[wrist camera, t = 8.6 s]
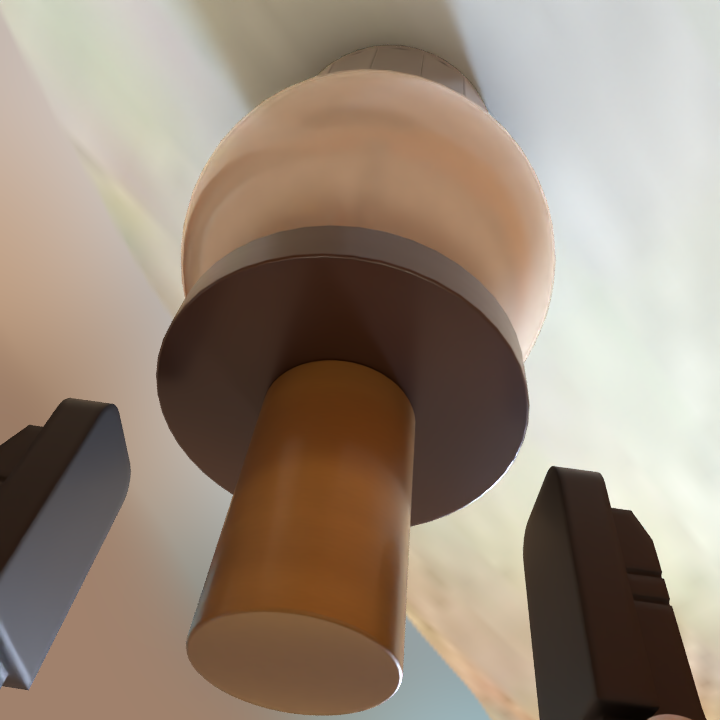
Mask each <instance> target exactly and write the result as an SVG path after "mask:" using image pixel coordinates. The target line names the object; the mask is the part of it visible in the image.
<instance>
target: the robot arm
mask: <svg viewBox="0 0 720 720" xmlns="http://www.w3.org/2000/svg"><path fill="white" fill-rule="evenodd" d="M130 472H131V469H130V461H129V457H128V452H127V448H126V443H125V438H124V433H123V429H122V424H121V419H120V415H119V411H118V408H117V407H116V406H115V405H114V404H109V403H102V402H95V401H88V400H80V399H72V398H68V399H65V400H63V401H62V402H61V403H60V404H59V406H58V407H57V408H56V410H55V411H54V412H53V414H52V415H51V417H50V418H49V420H48V421H47V422H46V424H45V425H44V427H40V426H33V425H28V426H27V427H26V428H24V429H23V430H21V431H20V432H19V433H17V434H16V435H14V436H13V437H12V438H10V439H9V440H7V441H6V442H5V443H3V444H2V445H0V688H1V686H5V687H12V688H18V689H25V690H29V688H30V686H31V684H32V683H33V680H34V678H35V677H36V675H37V673H38V671H39V669H40V667H41V664H42V663H43V661H44V659H45V657H46V655H47V653H48V651H49V649H50V646H51V645H52V643H53V641H54V639H55V637H56V635H57V633H58V631H59V629H60V627H61V625H62V623H63V621H64V619H65V617H66V615H67V613H68V611H69V609H70V607H71V605H72V603H73V601H74V599H75V597H76V595H77V593H78V591H79V589H80V587H81V585H82V583H83V581H84V579H85V577H86V575H87V573H88V571H89V569H90V568H91V565H92V564H93V562H94V559H95V558H96V555H97V554H98V552H99V550H100V547H101V546H102V544H103V542H104V540H105V538H106V536H107V534H108V532H109V530H110V528H111V526H112V524H113V522H114V520H115V518H116V516H117V514H118V512H119V510H120V508H121V506H122V504H123V502H124V500H125V497H126V494H127V491H128V487H129V482H130ZM523 561H524V571H525V581H526V590H527V600H528V610H529V620H530V629H531V639H532V649H533V659H534V668H535V678H536V688H537V698H538V708H539V717H540V720H706V718H705V715H704V712H703V710H702V707H701V703H700V700H699V697H698V693H697V690H696V686H695V683H694V680H693V676H692V673H691V669H690V666H689V663H688V659H687V656H686V652H685V649H684V645H683V642H682V639H681V635H680V632H679V628H678V625H677V622H676V618H675V615H674V611H673V608H672V606H670V605H669V600H670V598H669V594H668V591H667V588H666V584H665V581H664V579H662V577H661V574H662V571H661V567H660V564H659V560H658V557H657V553H656V550H655V547H654V543H653V540H652V539H651V537H650V536H649V535H648V533H647V532H646V530H645V529H644V528H643V526H642V525H641V524H640V522H639V521H638V519H637V518H636V517H635V515H634V514H633V513H632V511H630V510H623V509H616V508H611V506H610V502H609V498H608V493H607V489H606V485H605V482H604V479H603V477H602V475H601V474H600V473H598V472H592V471H584V470H577V469H570V468H563V467H555V466H552V467H550V469H549V470H548V472H547V474H546V477H545V479H544V482H543V484H542V487H541V489H540V492H539V494H538V497H537V499H536V502H535V504H534V507H533V510H532V512H531V515H530V517H529V520H528V522H527V526H526V530H525V535H524V545H523Z"/></svg>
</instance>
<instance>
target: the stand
mask: <svg viewBox="0 0 720 720" xmlns="http://www.w3.org/2000/svg"><path fill="white" fill-rule="evenodd" d="M354 69H386V70H394V71H400V72H405V73H410V74H416V75H419V76H421V77H424V78H427V79H430V80H433V81H436V82H439V83H441V84H443V85H445V86H447V87H449V88H451V89H453V90H455V91H457V92H459V93H461V94H463V95H464V96H466V97H467V98H469V99H470V100H472V101H473V102H475V103H476V104H477V105H479V106H480V107H482V108H483V109H484V110H485V111H487V112H488V110H487V109H486V107H485V104H484V102H483V100H482V99H481V97H480V95H479V94H478V92H477V90H476V89H475V88H474V86H473V85H472V84H471V83H470V81H469V80H468V79H467V78H466V77H465V76H464V75H463V74H462V73H461V72H460V71H459V70H458V69H457V68H455V67H454V66H452V65H451V64H449V63H448V62H447V61H445V60H444V59H442V58H440V57H438V56H436V55H434V54H432V53H429V52H426V51H423V50H420V49H417V48H413V47H407V46H402V45H381V46H372V47H368V48H364V49H360V50H356V51H354V52H352V53H349V54H347V55H344V56H343V57H341V58H339V59H337V60H336V61H334V62H332V63H331V64H330V65H328V66H327V67H326V68H325V69H323V70H322V71H321V72H320V73H319V74H318V75H317V76H320V75H324V74H329V73H333V72H337V71H343V70H354Z"/></svg>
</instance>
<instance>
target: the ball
mask: <svg viewBox="0 0 720 720" xmlns="http://www.w3.org/2000/svg"><path fill="white" fill-rule="evenodd" d="M328 225H336V226H352V227H362V228H368V229H373V230H379V231H384V232H388V233H391V234H395V235H398V236H401V237H404V238H408V239H411V240H413V241H416V242H418V243H420V244H422V245H425V246H427V247H429V248H431V249H434V250H436V251H438V252H439V253H441V254H443V255H444V256H446V257H448V258H449V259H451V260H452V261H454V262H456V263H457V264H459V265H460V266H461V267H463V268H464V269H465V270H466V271H468V272H469V273H470V274H471V275H473V276H474V277H475V278H476V279H478V280H479V281H480V282H481V283H482V284H483V285H484V286H485V288H486V289H487V290H488V291H489V292H490V293H491V294H492V295H493V296H494V297H495V298H496V300H497V301H498V303H499V304H500V306H501V307H502V308H503V310H504V311H505V313H506V314H507V316H508V318H509V320H510V322H511V324H512V326H513V328H514V330H515V332H516V334H517V337H518V341H519V344H520V347H521V351H522V355H523V362H525V361H526V359H527V357H528V356H529V354H530V352H531V350H532V349H533V347H534V345H535V343H536V340H537V338H538V336H539V333H540V331H541V328H542V326H543V323H544V321H545V319H546V316H547V313H548V309H549V304H550V300H551V296H552V290H553V284H554V274H555V262H556V257H555V243H554V232H553V224H552V220H551V216H550V211H549V207H548V203H547V200H546V197H545V195H544V192H543V190H542V187H541V185H540V182H539V180H538V177H537V175H536V173H535V171H534V169H533V167H532V166H531V164H530V162H529V160H528V159H527V157H526V155H525V154H524V152H523V150H522V149H521V147H520V146H519V145H518V144H517V142H516V141H515V140H514V139H513V137H512V136H511V135H510V134H509V133H508V131H507V130H506V129H505V128H504V127H503V126H502V125H501V124H500V123H499V122H497V121H496V120H495V119H494V118H493V117H492V116H491V115H490V114H489V113H488V112H487V111H485V110H484V109H483V108H482V107H480V106H479V105H477V104H476V103H475V102H473V101H472V100H470V99H469V98H467V97H466V96H464V95H463V94H461V93H459V92H457V91H455V90H453V89H451V88H449V87H447V86H445V85H443V84H441V83H439V82H436V81H433V80H430V79H427V78H424V77H421V76H419V75H416V74H410V73H405V72H400V71H394V70H386V69H354V70H343V71H337V72H333V73H329V74H324V75H320V76H316V77H313V78H309V79H307V80H304V81H302V82H299V83H297V84H294V85H292V86H289V87H287V88H285V89H283V90H281V91H280V92H278V93H276V94H274V95H273V96H271V97H269V98H268V99H266V100H264V101H263V102H262V103H260V104H259V105H258V106H257V107H255V108H254V109H253V110H252V111H250V112H249V113H248V114H247V115H245V116H244V117H243V118H242V119H241V120H240V121H239V122H238V123H237V124H236V125H235V126H234V127H233V128H232V129H231V130H230V131H229V132H228V134H227V135H226V136H225V137H224V138H223V139H222V140H221V142H220V143H219V145H218V146H217V148H216V149H215V151H214V152H213V154H212V155H211V157H210V158H209V160H208V161H207V163H206V165H205V167H204V168H203V170H202V172H201V174H200V176H199V179H198V181H197V183H196V185H195V187H194V190H193V192H192V196H191V199H190V203H189V206H188V210H187V214H186V218H185V222H184V226H183V234H182V243H181V269H182V284H183V290H184V295H185V298H186V296H187V295H188V293H189V291H190V290H191V289H192V287H193V286H194V285H195V283H196V282H197V281H198V279H199V278H200V277H201V276H202V275H203V274H204V273H205V272H206V271H207V270H208V269H209V268H210V267H211V266H212V265H214V264H215V263H216V262H217V261H219V260H220V259H221V258H223V257H224V256H226V255H227V254H229V253H230V252H232V251H233V250H235V249H237V248H239V247H241V246H243V245H245V244H247V243H249V242H251V241H253V240H255V239H258V238H261V237H265V236H268V235H271V234H274V233H277V232H280V231H285V230H291V229H296V228H302V227H311V226H328Z"/></svg>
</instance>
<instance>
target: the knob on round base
mask: <svg viewBox="0 0 720 720" xmlns="http://www.w3.org/2000/svg"><path fill="white" fill-rule="evenodd" d="M156 378H157V392H158V397H159V401H160V405H161V409H162V413H163V415H164V417H165V420H166V422H167V424H168V427H169V429H170V431H171V432H172V434H173V436H174V437H175V439H176V441H177V443H178V444H179V445H180V447H181V448H182V449H183V451H184V452H185V453H186V454H187V456H188V457H189V458H190V459H191V460H192V461H193V462H194V463H195V464H196V465H197V466H198V468H200V470H201V471H202V472H203V473H205V474H206V475H207V476H208V477H210V478H211V479H212V480H213V481H214V482H216V483H217V484H218V485H219V486H221V487H222V488H224V489H225V490H227V491H228V492H230V493H231V494H233V497H232V501H231V503H230V507H229V510H228V513H227V516H226V519H225V522H224V525H223V528H222V531H221V535H220V538H219V541H218V544H217V547H216V550H215V553H214V556H213V559H212V562H211V566H210V569H209V572H208V575H207V578H206V581H205V584H204V587H203V590H202V593H201V596H200V599H199V603H198V606H197V609H196V612H195V615H194V618H193V621H192V624H191V627H190V630H189V634H188V637H187V641H186V649H187V655H188V658H189V660H190V662H191V664H192V665H193V667H194V668H195V670H196V671H197V672H198V673H199V674H200V675H201V676H202V677H203V678H204V679H206V680H207V681H208V682H209V683H211V684H212V685H214V686H215V687H217V688H218V689H220V690H222V691H224V692H225V693H228V694H229V695H231V696H234V697H236V698H238V699H241V700H243V701H246V702H249V703H251V704H254V705H258V706H261V707H265V708H268V709H272V710H277V711H282V712H287V713H294V714H303V715H341V714H350V713H355V712H360V711H364V710H367V709H370V708H373V707H375V706H378V705H380V704H382V703H383V702H385V701H387V700H388V699H389V698H391V697H392V696H393V695H394V694H395V692H396V691H397V690H398V688H399V686H400V684H401V681H402V676H403V659H404V639H405V620H406V600H407V580H408V560H409V540H410V527H411V526H415V525H419V524H423V523H427V522H430V521H433V520H436V519H439V518H441V517H444V516H447V515H449V514H451V513H453V512H455V511H457V510H459V509H462V508H464V507H465V506H467V505H469V504H470V503H472V502H473V501H475V500H476V499H478V498H480V497H481V496H482V495H483V494H485V493H486V492H487V491H488V490H489V489H491V488H492V487H493V486H494V485H495V484H496V483H497V482H498V481H499V480H500V479H501V478H502V476H503V475H504V474H505V473H506V472H507V470H508V469H509V467H510V466H511V464H512V463H513V461H514V460H515V458H516V457H517V454H518V452H519V450H520V448H521V446H522V443H523V441H524V438H525V434H526V430H527V426H528V419H529V397H528V389H527V381H526V375H525V368H524V362H523V355H522V351H521V347H520V344H519V341H518V337H517V334H516V332H515V330H514V328H513V326H512V324H511V322H510V320H509V318H508V316H507V314H506V313H505V311H504V310H503V308H502V307H501V306H500V304H499V303H498V301H497V300H496V298H495V297H494V296H493V295H492V294H491V293H490V292H489V291H488V290H487V289H486V288H485V286H484V285H483V284H482V283H481V282H480V281H479V280H478V279H476V278H475V277H474V276H473V275H471V274H470V273H469V272H468V271H466V270H465V269H464V268H463V267H461V266H460V265H459V264H457V263H456V262H454V261H452V260H451V259H449V258H448V257H446V256H444V255H443V254H441V253H439V252H438V251H436V250H434V249H431V248H429V247H427V246H425V245H422V244H420V243H418V242H416V241H413V240H411V239H408V238H404V237H401V236H398V235H395V234H391V233H388V232H384V231H379V230H373V229H368V228H362V227H352V226H336V225H328V226H311V227H302V228H296V229H291V230H285V231H280V232H277V233H274V234H271V235H268V236H265V237H261V238H258V239H255V240H253V241H251V242H249V243H247V244H245V245H243V246H241V247H239V248H237V249H235V250H233V251H232V252H230V253H229V254H227V255H226V256H224V257H223V258H221V259H220V260H219V261H217V262H216V263H215V264H214V265H212V266H211V267H210V268H209V269H208V270H207V271H206V272H205V273H204V274H203V275H202V276H201V277H200V278H199V279H198V281H197V282H196V283H195V285H194V286H193V287H192V289H191V290H190V291H189V293H188V295H187V296H186V298H185V300H184V302H183V303H182V305H181V307H180V309H179V310H178V312H177V314H176V316H175V317H174V319H173V321H172V323H171V325H170V327H169V329H168V331H167V333H166V335H165V337H164V339H163V342H162V345H161V349H160V352H159V355H158V362H157V372H156Z"/></svg>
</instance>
